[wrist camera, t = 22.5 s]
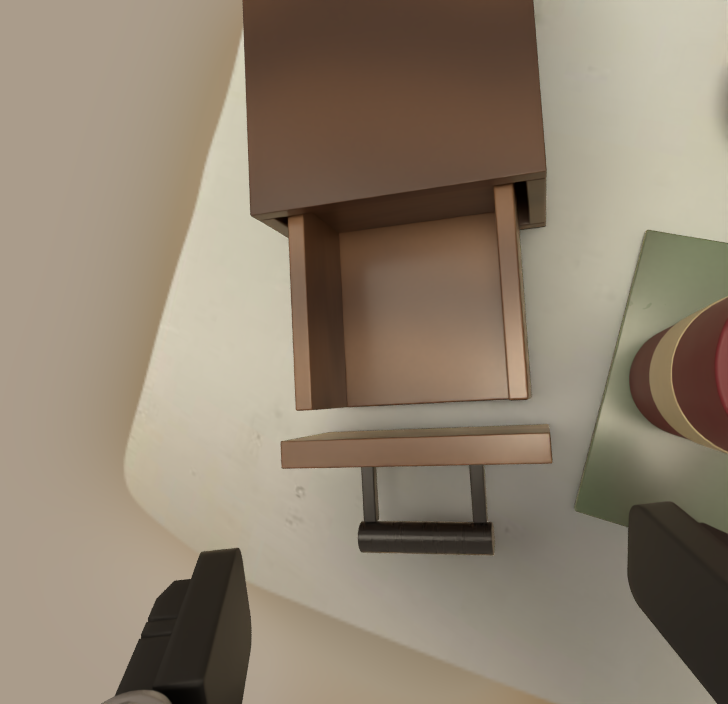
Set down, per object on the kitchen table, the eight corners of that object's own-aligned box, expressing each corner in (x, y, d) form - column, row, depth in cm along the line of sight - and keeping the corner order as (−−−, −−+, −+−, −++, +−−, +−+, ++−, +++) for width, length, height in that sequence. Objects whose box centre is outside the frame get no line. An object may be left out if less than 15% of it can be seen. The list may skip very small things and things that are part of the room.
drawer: (557, 536, 29) (561, 575, 23) (333, 533, 32) (285, 566, 26) (531, 198, 30) (528, 149, 24) (319, 227, 33) (270, 191, 27)
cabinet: (545, 226, 31) (546, 171, 23) (316, 255, 34) (249, 215, 27) (526, -24, 32) (520, -158, 24) (306, 29, 35) (239, -73, 28)
